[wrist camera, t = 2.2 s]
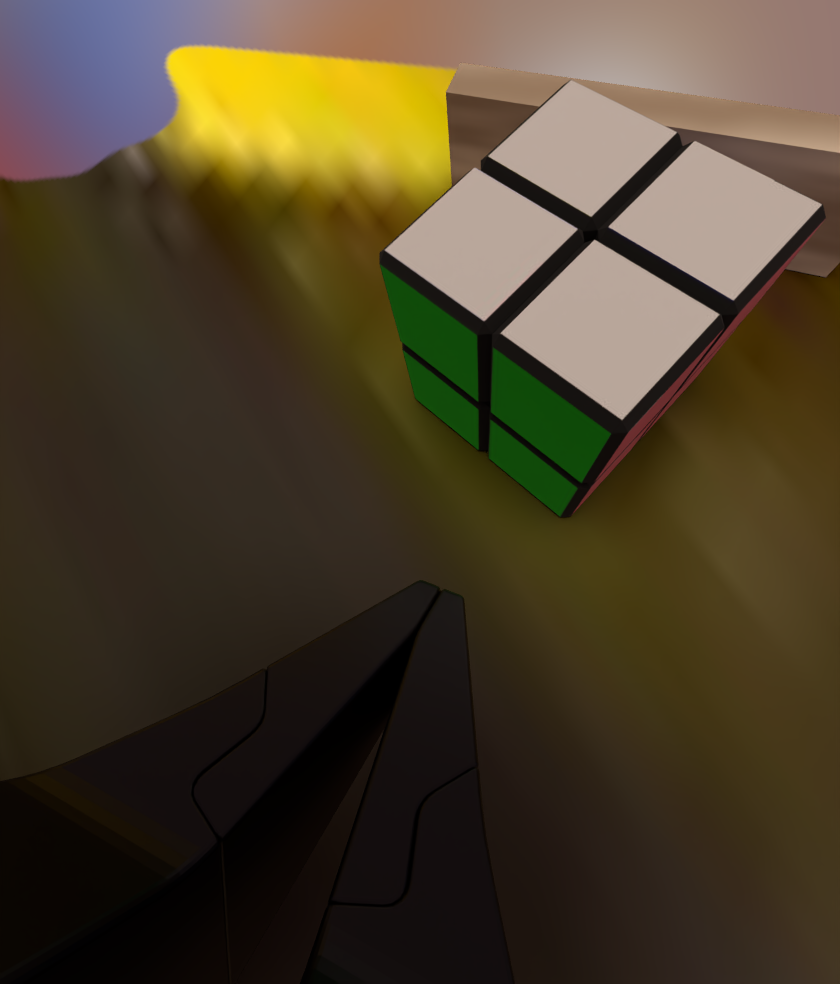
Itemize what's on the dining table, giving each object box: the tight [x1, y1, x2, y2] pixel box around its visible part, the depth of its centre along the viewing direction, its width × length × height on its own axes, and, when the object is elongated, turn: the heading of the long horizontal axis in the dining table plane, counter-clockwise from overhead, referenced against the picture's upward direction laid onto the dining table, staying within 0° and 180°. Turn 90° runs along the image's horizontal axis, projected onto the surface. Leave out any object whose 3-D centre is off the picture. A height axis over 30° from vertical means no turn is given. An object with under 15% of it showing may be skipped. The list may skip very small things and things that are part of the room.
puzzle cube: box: [380, 80, 826, 517], centre depth 20 cm, size 10×10×10 cm
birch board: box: [446, 63, 840, 277], centre depth 24 cm, size 2×20×6 cm, turn 68°
